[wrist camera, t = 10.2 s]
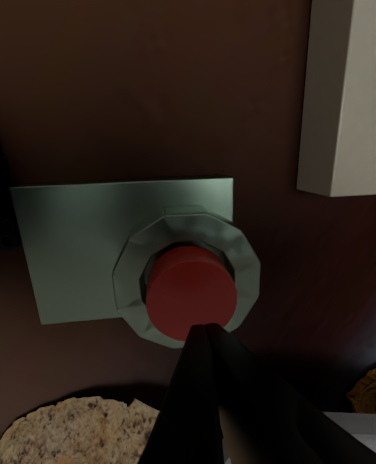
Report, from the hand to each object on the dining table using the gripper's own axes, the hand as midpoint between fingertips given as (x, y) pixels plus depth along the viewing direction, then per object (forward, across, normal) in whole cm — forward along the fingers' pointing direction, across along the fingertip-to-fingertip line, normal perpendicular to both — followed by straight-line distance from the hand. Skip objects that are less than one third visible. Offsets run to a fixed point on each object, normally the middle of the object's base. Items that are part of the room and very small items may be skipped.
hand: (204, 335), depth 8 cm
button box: (+7, +3, -1) cm, 7 cm away
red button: (+4, 0, 0) cm, 4 cm away
